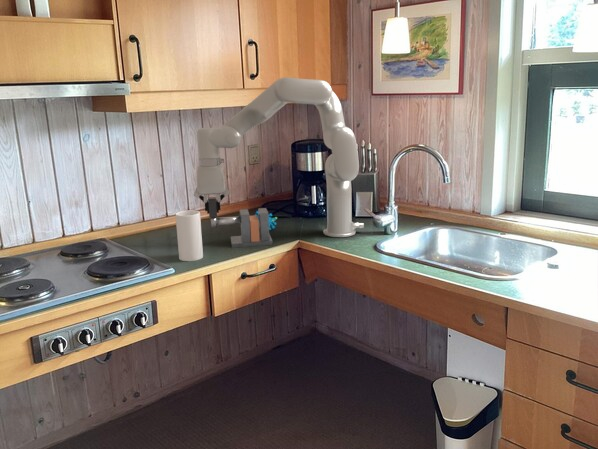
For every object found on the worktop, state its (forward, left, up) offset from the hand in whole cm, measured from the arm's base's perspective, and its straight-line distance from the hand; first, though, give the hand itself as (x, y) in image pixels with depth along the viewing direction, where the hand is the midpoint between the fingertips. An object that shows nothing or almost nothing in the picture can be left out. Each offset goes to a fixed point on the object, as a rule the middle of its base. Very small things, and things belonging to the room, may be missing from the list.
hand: (213, 212), depth 203 cm
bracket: (-13, 0, -13) cm, 19 cm away
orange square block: (-15, 0, -7) cm, 16 cm away
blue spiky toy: (-21, -19, -13) cm, 31 cm away
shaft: (-5, 0, -6) cm, 7 cm away
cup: (+9, +13, -13) cm, 20 cm away
